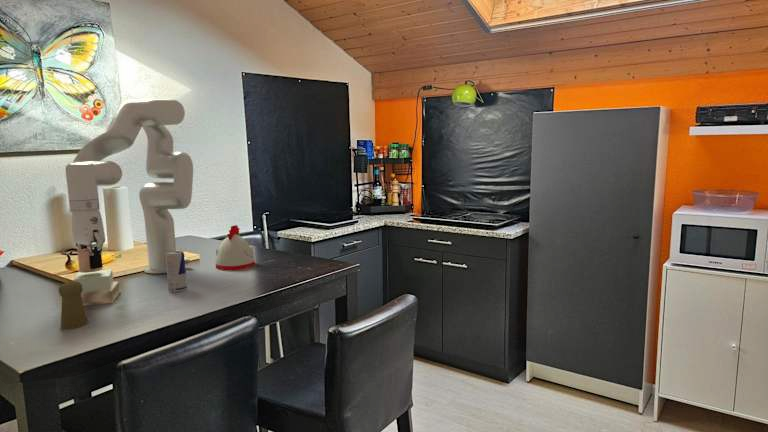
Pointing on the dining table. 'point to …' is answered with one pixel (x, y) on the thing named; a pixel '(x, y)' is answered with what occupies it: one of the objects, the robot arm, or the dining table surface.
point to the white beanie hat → (234, 252)
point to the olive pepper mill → (72, 306)
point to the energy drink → (176, 271)
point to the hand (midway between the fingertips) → (90, 266)
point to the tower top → (95, 280)
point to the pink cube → (85, 261)
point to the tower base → (101, 295)
